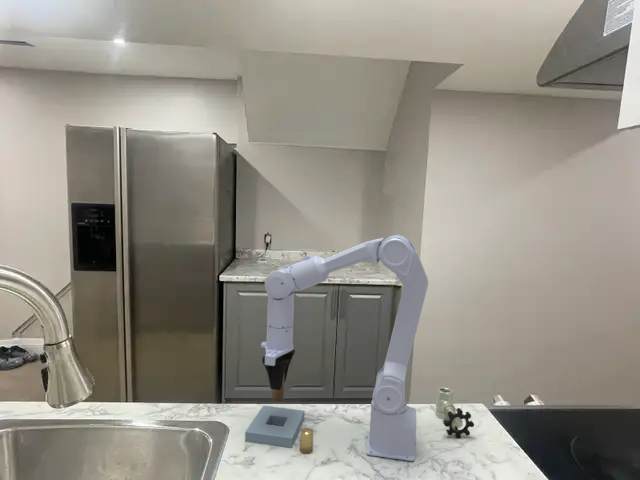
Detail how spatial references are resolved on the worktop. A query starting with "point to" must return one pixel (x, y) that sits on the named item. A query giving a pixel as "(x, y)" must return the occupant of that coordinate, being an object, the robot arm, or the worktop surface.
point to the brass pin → (306, 441)
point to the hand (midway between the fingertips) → (277, 385)
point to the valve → (451, 413)
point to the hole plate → (275, 434)
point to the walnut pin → (278, 393)
